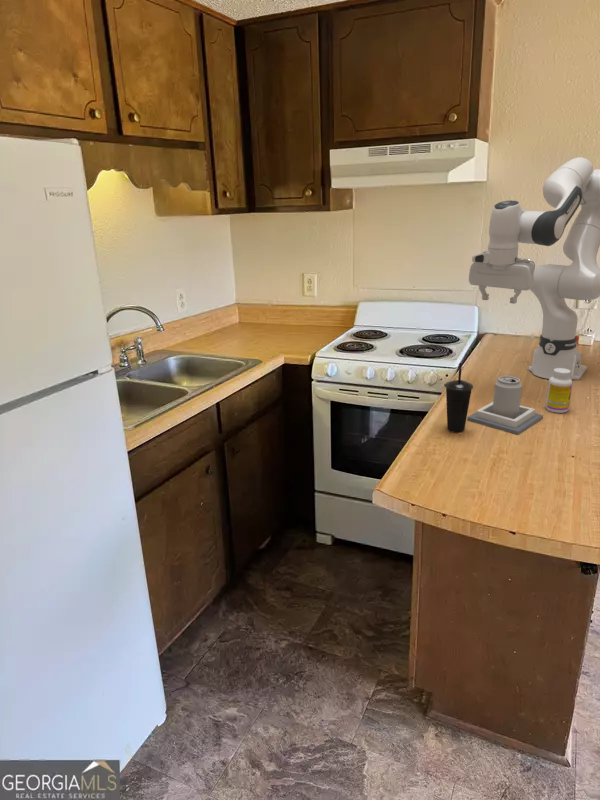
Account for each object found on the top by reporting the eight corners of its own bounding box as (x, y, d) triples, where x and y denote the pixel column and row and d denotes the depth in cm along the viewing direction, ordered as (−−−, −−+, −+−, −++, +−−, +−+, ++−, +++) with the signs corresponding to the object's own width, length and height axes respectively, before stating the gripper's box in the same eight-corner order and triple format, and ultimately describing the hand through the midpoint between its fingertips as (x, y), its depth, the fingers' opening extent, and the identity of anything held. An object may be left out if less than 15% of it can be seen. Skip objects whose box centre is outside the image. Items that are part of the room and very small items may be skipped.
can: (519, 421, 167) (524, 383, 163) (492, 420, 169) (496, 382, 165) (517, 412, 174) (521, 375, 170) (491, 410, 176) (494, 373, 171)
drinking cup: (470, 425, 168) (475, 360, 161) (468, 435, 162) (474, 368, 155) (443, 422, 171) (447, 358, 164) (441, 432, 164) (445, 366, 157)
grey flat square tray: (493, 405, 182) (494, 396, 181) (542, 418, 172) (544, 409, 170) (467, 420, 172) (467, 410, 171) (517, 434, 161) (519, 425, 160)
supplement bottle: (570, 414, 174) (576, 374, 169) (547, 413, 175) (552, 373, 171) (565, 406, 180) (571, 367, 175) (543, 405, 181) (548, 366, 177)
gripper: (540, 257, 171) (535, 303, 176) (477, 253, 184) (475, 296, 190) (530, 260, 167) (526, 307, 172) (467, 256, 180) (465, 299, 185)
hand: (498, 301), depth 181 cm, fingers open, 8 cm apart
